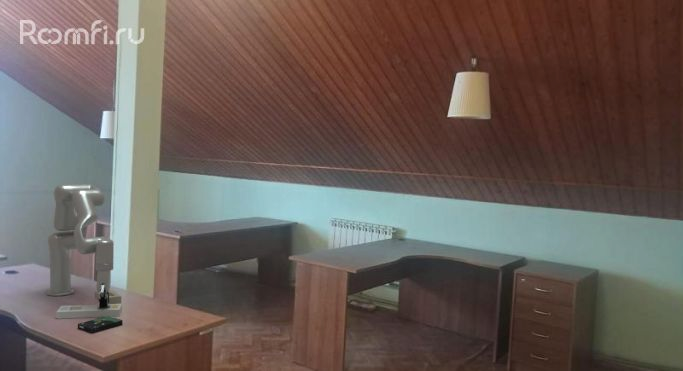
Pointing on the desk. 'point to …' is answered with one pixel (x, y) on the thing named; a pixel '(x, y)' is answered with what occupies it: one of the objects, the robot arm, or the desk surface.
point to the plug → (107, 303)
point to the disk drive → (100, 324)
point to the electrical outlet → (111, 297)
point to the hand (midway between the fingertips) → (104, 304)
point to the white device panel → (88, 311)
